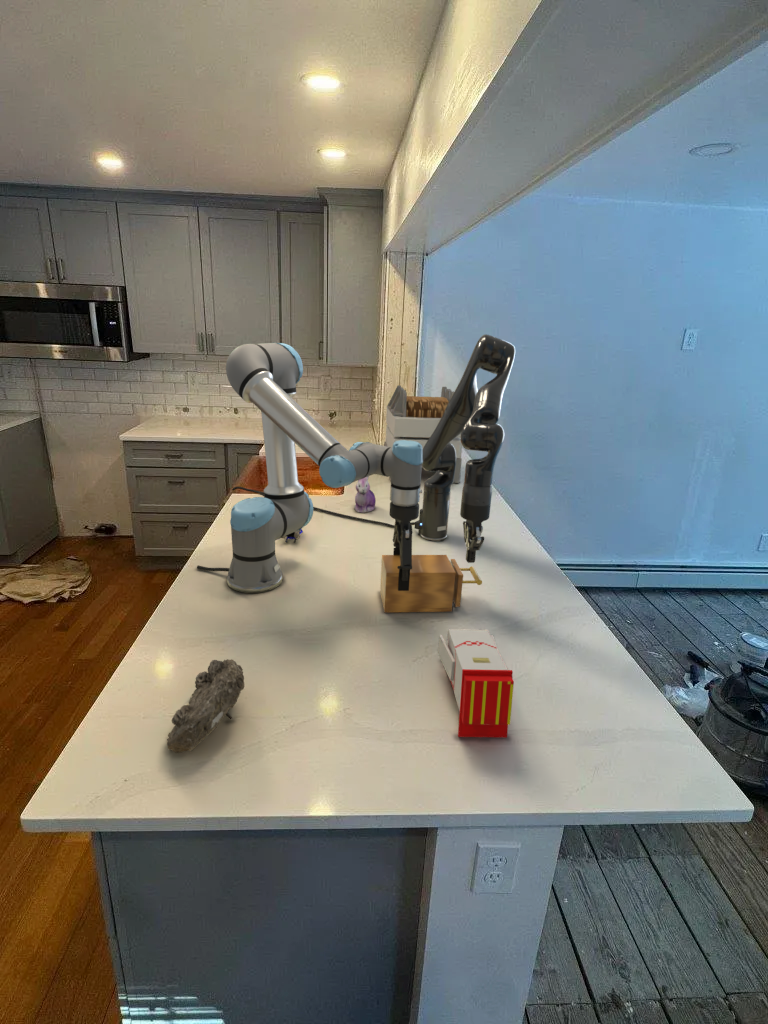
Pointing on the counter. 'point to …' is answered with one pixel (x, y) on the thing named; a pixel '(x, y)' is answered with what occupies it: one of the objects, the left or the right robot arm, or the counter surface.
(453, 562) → the drawer
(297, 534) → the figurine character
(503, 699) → the toy
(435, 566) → the cabinet
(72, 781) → the counter surface
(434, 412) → the grey boxy piece
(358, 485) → the figurine
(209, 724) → the fossil
